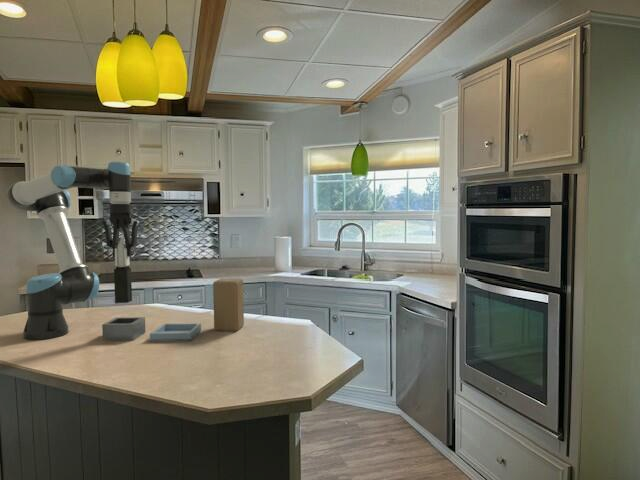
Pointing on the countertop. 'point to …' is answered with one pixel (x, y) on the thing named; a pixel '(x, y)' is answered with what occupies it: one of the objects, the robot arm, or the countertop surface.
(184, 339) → the tray
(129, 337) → the collar
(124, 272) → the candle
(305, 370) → the countertop surface
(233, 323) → the wooden block
